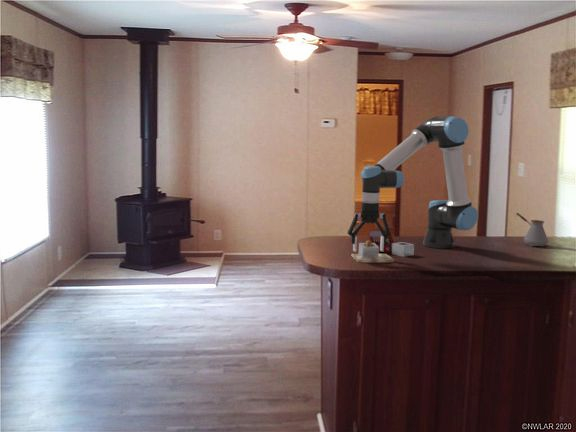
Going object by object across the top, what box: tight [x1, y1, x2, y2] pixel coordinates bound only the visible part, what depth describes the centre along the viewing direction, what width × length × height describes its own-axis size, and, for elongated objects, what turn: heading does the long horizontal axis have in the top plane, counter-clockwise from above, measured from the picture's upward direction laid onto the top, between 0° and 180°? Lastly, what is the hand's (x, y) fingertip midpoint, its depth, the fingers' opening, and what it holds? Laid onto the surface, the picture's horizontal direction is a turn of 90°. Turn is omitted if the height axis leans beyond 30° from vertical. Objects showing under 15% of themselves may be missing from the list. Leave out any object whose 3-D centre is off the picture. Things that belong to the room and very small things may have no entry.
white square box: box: [358, 242, 380, 259], centre depth 261 cm, size 7×7×5 cm
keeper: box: [350, 240, 395, 263], centre depth 262 cm, size 16×12×8 cm
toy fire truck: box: [367, 229, 395, 254], centre depth 279 cm, size 7×12×10 cm, turn 96°
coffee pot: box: [515, 212, 549, 247], centre depth 308 cm, size 21×12×15 cm, turn 21°
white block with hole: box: [391, 241, 415, 258], centre depth 274 cm, size 7×7×5 cm
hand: (368, 251), depth 262 cm, fingers open, 11 cm apart
